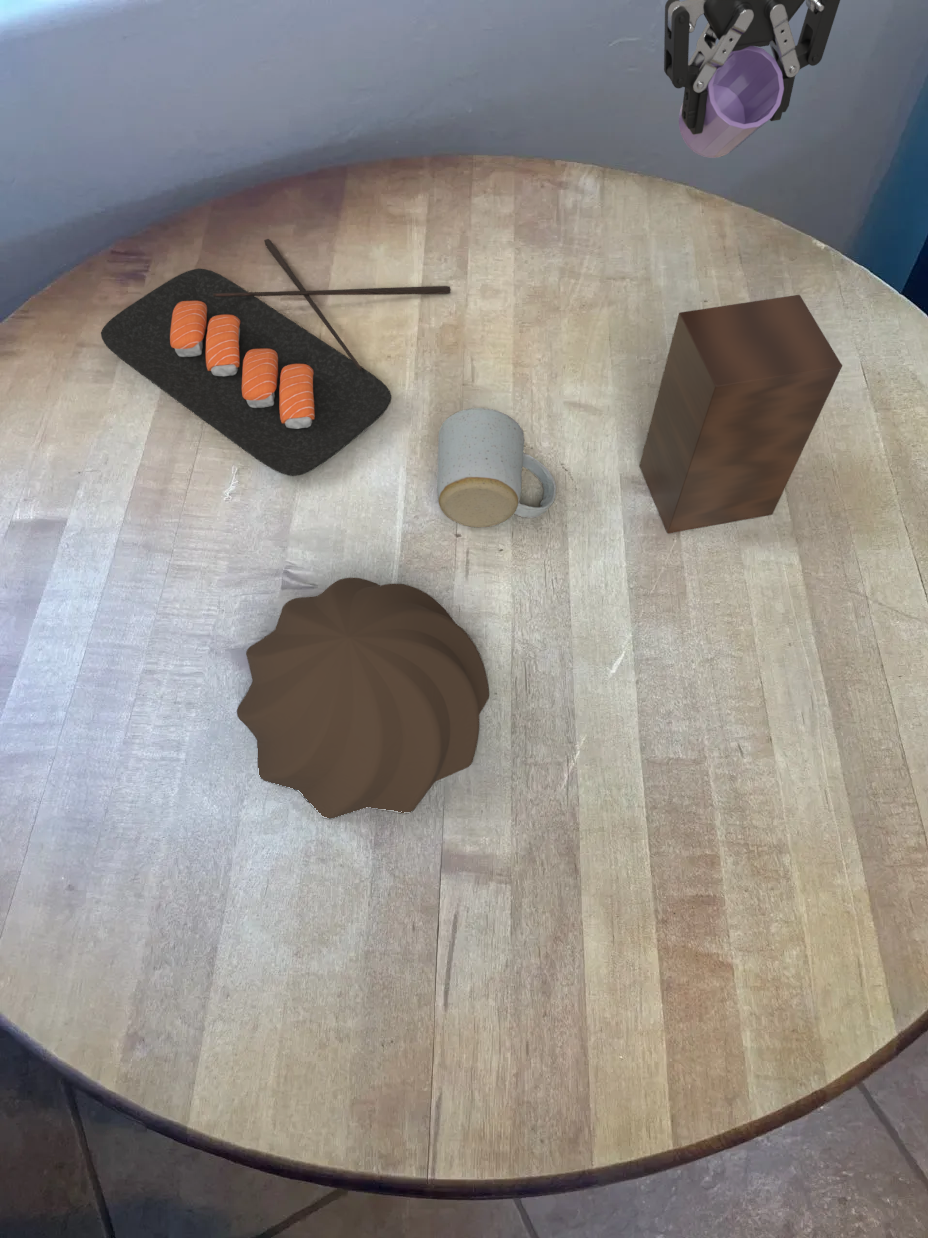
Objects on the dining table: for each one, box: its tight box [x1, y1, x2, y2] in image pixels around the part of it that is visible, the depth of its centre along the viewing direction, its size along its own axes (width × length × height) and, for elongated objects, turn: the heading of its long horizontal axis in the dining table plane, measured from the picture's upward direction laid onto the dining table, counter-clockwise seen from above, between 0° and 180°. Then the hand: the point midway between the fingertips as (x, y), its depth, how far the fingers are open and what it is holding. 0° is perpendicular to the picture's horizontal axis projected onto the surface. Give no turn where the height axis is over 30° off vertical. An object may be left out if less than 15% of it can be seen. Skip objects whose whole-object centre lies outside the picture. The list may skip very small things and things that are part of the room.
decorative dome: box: [236, 577, 490, 819], centre depth 72 cm, size 19×20×10 cm
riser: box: [638, 294, 843, 534], centre depth 80 cm, size 10×8×18 cm
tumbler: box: [678, 46, 784, 159], centre depth 84 cm, size 6×6×8 cm
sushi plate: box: [100, 238, 451, 477], centre depth 96 cm, size 29×30×4 cm
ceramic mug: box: [436, 407, 557, 528], centre depth 84 cm, size 11×8×8 cm
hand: (732, 122), depth 84 cm, fingers closed on tumbler, 6 cm apart
